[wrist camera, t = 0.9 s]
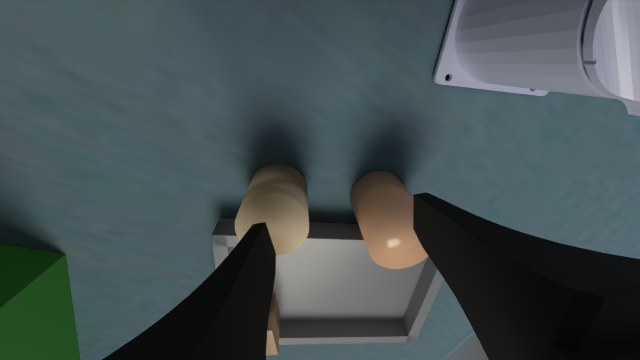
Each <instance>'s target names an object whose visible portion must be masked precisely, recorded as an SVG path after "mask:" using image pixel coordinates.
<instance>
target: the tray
mask: <svg viewBox="0 0 640 360" xmlns="http://www.w3.org/2000/svg"><path fill="white" fill-rule="evenodd" d="M239 241H240V240H239V239H238V237H237V235H236V232H235V219H228V218H220V219H219V221H218V223H217V225H216V227H215V229H214V231H213V233H212V243H213V252H214V261H215V270H216V268H217V267H218V266H219V265H220V264H221V263H222V262H223V261H224V259H225V258H226V257H227V256H228V255H229V254H230V252H231V251H232V250H233V249H234V248H235V246H236V245H237V244H238V243H239ZM443 281H444V278H443V277H442V275H441V274H440V272H439V271H438V269H437V268H436V266H435V265H434V263H433V262H432V261H431V259H430V258H429V256H428V257H427V258H426V259H424V260H423V261H421V262H420V263H418V264H416V265H413V266H411V267H407V268H403V269H389V268H385V267H382V266H380V265H378V264H377V263H375V262H374V261H373V260H372V258H371V257H370V255H369V252H368V249H367V247H366V244H365V241H364V238H363V236H362V233H361V230H360V227H359V225H358V224H346V223H322V222H309V233H308V236H307V238H306V240H305V241H304V243H303V244H302V245H301V246H300V247H299V248H297V249H296V250H294V251H292V252H290V253H287V254H284V255H279V256H276V274H275V281H274V288H273V294H276V298H277V303H278V307H279V312H280V317H281V318H280V332H279V345H291V344H346V343H401V342H415V341H416V339H417V337H418V334H419V332H420V330H421V328H422V326H423V324H424V321H425V319H426V317H427V315H428V313H429V311H430V309H431V306H432V304H433V302H434V300H435V298H436V296H437V293H438V291H439V289H440V287H441V285H442V283H443Z"/></svg>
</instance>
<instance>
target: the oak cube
mask: <svg viewBox="0 0 640 360" xmlns="http://www.w3.org/2000/svg"><path fill="white" fill-rule="evenodd" d="M280 318H281V317H280V312H279V307H278V303H277V298H276V294H272V301H271V307H270V313H269V320H268V329H267V345H266V356H268V355H276V354H278V346H279V332H280Z"/></svg>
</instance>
